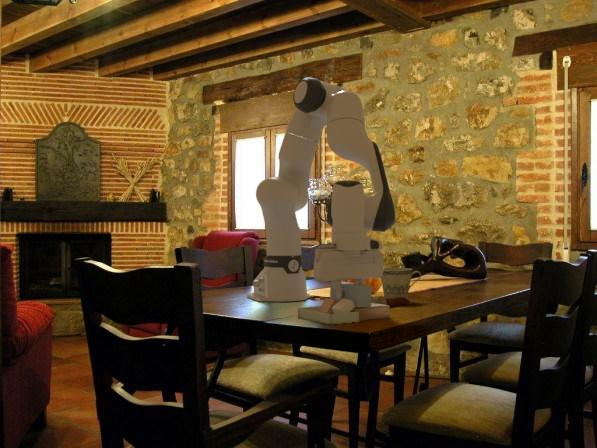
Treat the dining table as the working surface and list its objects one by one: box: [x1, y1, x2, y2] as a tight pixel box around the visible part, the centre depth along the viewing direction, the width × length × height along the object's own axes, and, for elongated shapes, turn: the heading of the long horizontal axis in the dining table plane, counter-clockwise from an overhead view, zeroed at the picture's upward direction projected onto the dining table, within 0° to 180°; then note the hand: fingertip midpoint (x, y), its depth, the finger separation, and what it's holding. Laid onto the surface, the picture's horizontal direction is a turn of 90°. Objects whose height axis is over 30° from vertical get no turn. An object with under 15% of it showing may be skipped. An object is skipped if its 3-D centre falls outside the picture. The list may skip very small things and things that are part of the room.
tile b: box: [332, 299, 355, 314], centre depth 152 cm, size 4×4×2 cm
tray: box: [297, 305, 360, 326], centre depth 153 cm, size 14×8×2 cm, turn 32°
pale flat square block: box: [334, 303, 391, 322], centre depth 158 cm, size 12×11×3 cm
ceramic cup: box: [380, 267, 422, 299], centre depth 189 cm, size 13×10×10 cm
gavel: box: [371, 295, 412, 308], centre depth 176 cm, size 21×5×10 cm
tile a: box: [318, 297, 338, 314], centre depth 157 cm, size 4×4×2 cm
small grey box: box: [329, 281, 373, 307], centre depth 156 cm, size 12×4×5 cm, turn 33°
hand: (349, 297), depth 157 cm, fingers closed on small grey box, 4 cm apart
